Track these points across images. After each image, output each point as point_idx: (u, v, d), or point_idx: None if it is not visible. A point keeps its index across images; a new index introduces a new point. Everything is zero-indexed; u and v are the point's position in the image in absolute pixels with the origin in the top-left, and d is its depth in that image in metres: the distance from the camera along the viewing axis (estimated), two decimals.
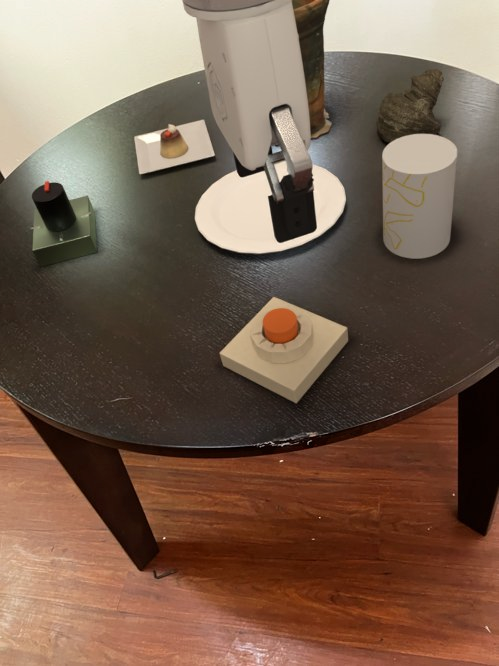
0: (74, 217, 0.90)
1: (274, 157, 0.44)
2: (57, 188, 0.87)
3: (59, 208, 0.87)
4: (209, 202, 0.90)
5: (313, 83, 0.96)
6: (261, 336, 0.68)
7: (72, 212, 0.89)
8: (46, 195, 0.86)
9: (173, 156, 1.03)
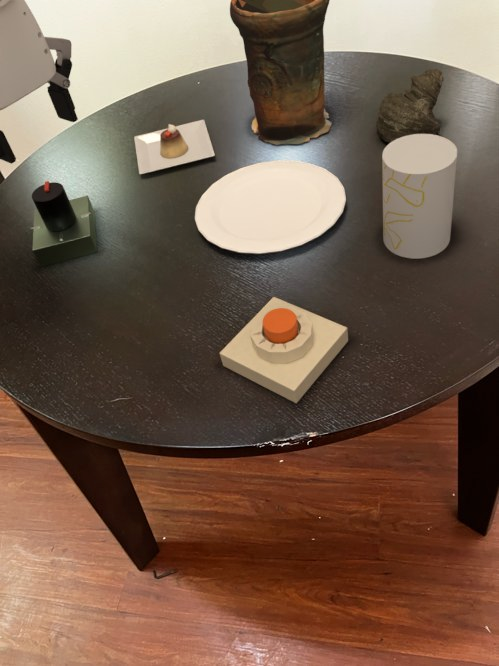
0: (74, 217, 0.90)
1: None
2: (57, 188, 0.87)
3: (59, 208, 0.87)
4: (209, 202, 0.90)
5: (313, 83, 0.96)
6: (261, 336, 0.68)
7: (72, 212, 0.89)
8: (46, 195, 0.86)
9: (173, 156, 1.03)
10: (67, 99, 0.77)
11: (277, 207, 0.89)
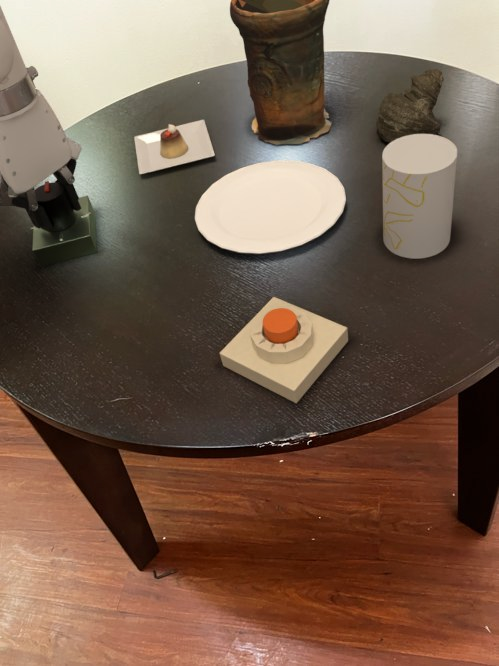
0: (74, 217, 0.90)
1: None
2: (57, 188, 0.87)
3: (59, 209, 0.87)
4: (209, 202, 0.90)
5: (313, 83, 0.96)
6: (261, 336, 0.68)
7: (72, 212, 0.89)
8: (46, 195, 0.86)
9: (173, 156, 1.03)
10: (72, 193, 0.88)
11: (277, 207, 0.89)
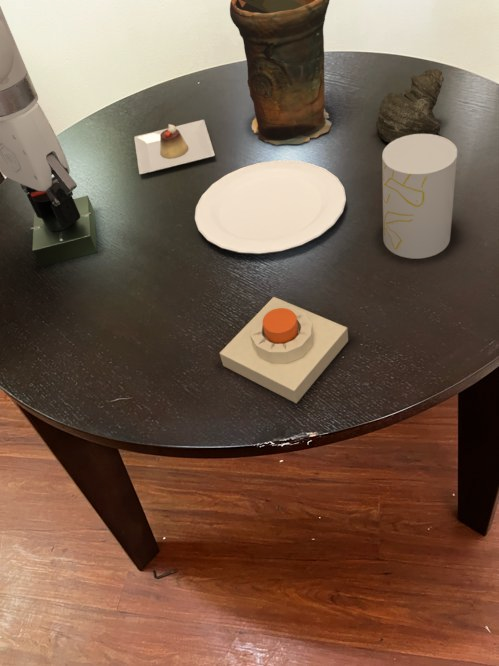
0: None
1: (51, 184, 0.83)
2: None
3: None
4: (209, 202, 0.90)
5: (313, 83, 0.96)
6: (261, 336, 0.68)
7: None
8: None
9: (173, 156, 1.03)
10: None
11: (277, 207, 0.89)
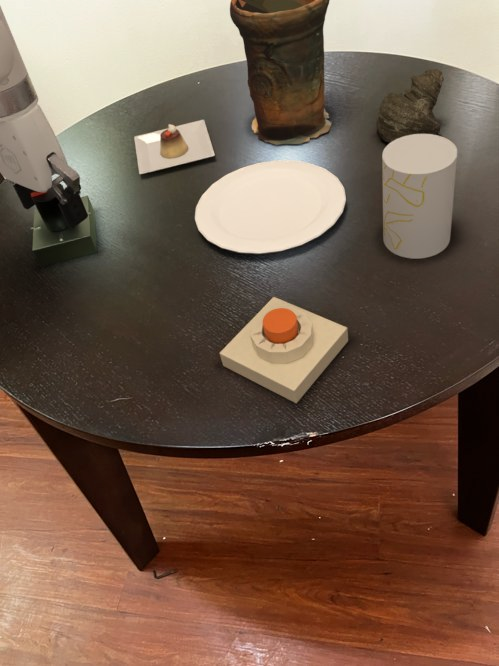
0: None
1: (54, 182, 0.82)
2: None
3: None
4: (209, 202, 0.90)
5: (313, 83, 0.96)
6: (261, 336, 0.68)
7: None
8: None
9: (173, 156, 1.03)
10: None
11: (277, 207, 0.89)
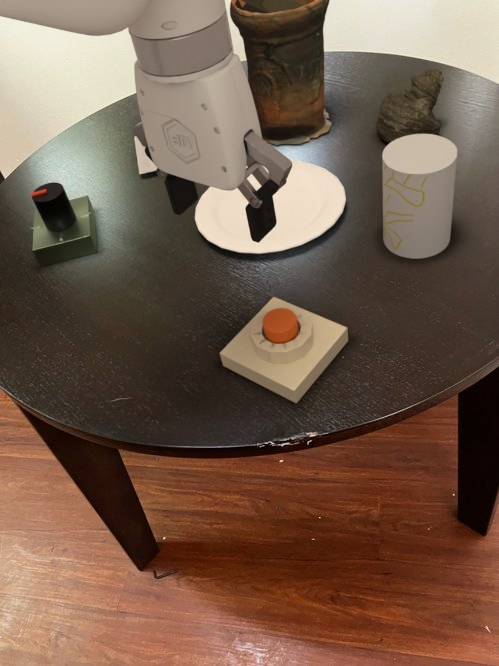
0: None
1: (245, 174, 0.55)
2: (45, 186, 0.88)
3: None
4: (209, 202, 0.90)
5: (313, 83, 0.96)
6: (261, 336, 0.68)
7: None
8: (53, 190, 0.87)
9: None
10: None
11: (277, 207, 0.89)
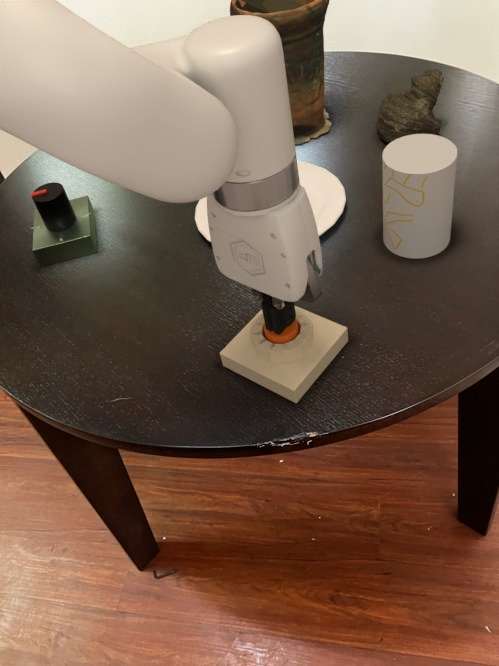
0: None
1: None
2: (45, 186, 0.88)
3: None
4: None
5: (313, 83, 0.96)
6: (261, 336, 0.68)
7: None
8: (53, 190, 0.87)
9: None
10: None
11: None
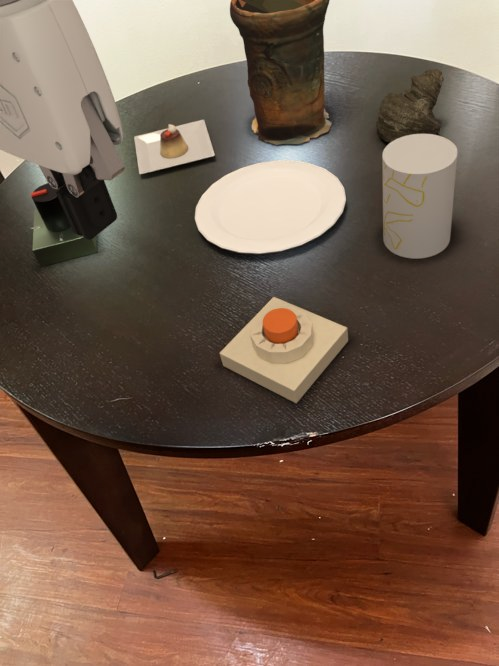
0: None
1: None
2: (45, 186, 0.88)
3: None
4: (209, 202, 0.90)
5: (313, 83, 0.96)
6: (261, 336, 0.68)
7: None
8: (53, 190, 0.87)
9: (173, 156, 1.03)
10: None
11: (277, 207, 0.89)
